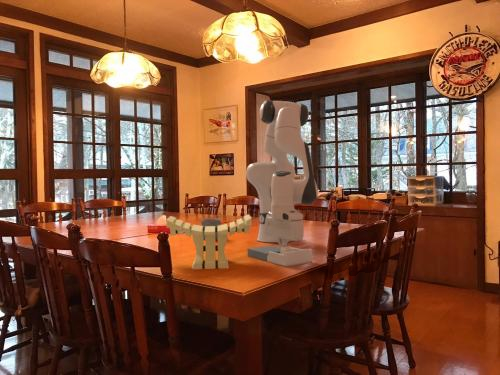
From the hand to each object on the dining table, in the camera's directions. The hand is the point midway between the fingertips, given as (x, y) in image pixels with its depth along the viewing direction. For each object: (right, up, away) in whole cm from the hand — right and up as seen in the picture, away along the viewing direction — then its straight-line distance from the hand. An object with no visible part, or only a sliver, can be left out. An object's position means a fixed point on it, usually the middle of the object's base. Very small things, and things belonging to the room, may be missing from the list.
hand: (283, 249), depth 157 cm
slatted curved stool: (-28, -5, -4) cm, 28 cm away
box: (+2, -4, -3) cm, 6 cm away
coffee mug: (-33, -3, +56) cm, 65 cm away
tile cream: (+1, -1, -1) cm, 1 cm away
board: (-5, -4, +7) cm, 10 cm away
